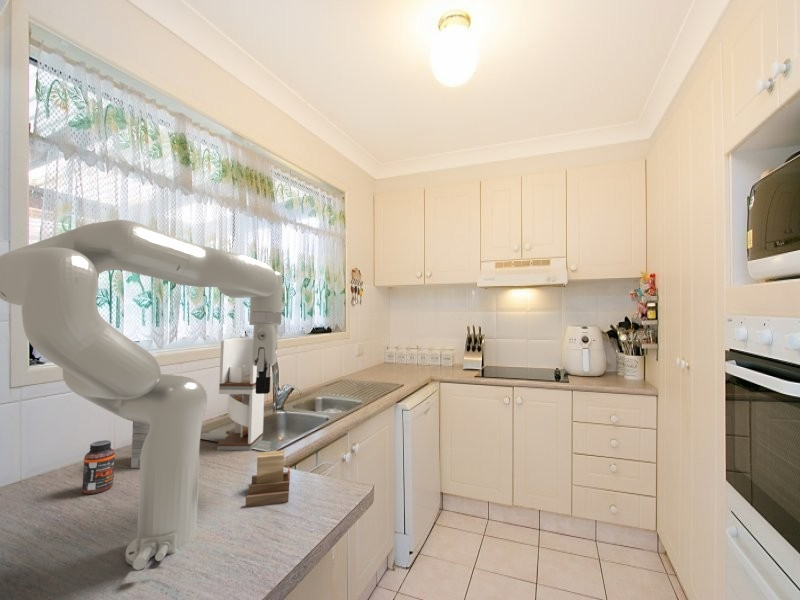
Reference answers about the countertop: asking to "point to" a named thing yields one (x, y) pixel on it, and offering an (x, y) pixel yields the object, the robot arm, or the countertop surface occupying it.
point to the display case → (241, 394)
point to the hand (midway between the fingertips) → (262, 392)
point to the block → (270, 467)
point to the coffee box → (138, 442)
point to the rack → (268, 491)
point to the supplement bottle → (98, 467)
